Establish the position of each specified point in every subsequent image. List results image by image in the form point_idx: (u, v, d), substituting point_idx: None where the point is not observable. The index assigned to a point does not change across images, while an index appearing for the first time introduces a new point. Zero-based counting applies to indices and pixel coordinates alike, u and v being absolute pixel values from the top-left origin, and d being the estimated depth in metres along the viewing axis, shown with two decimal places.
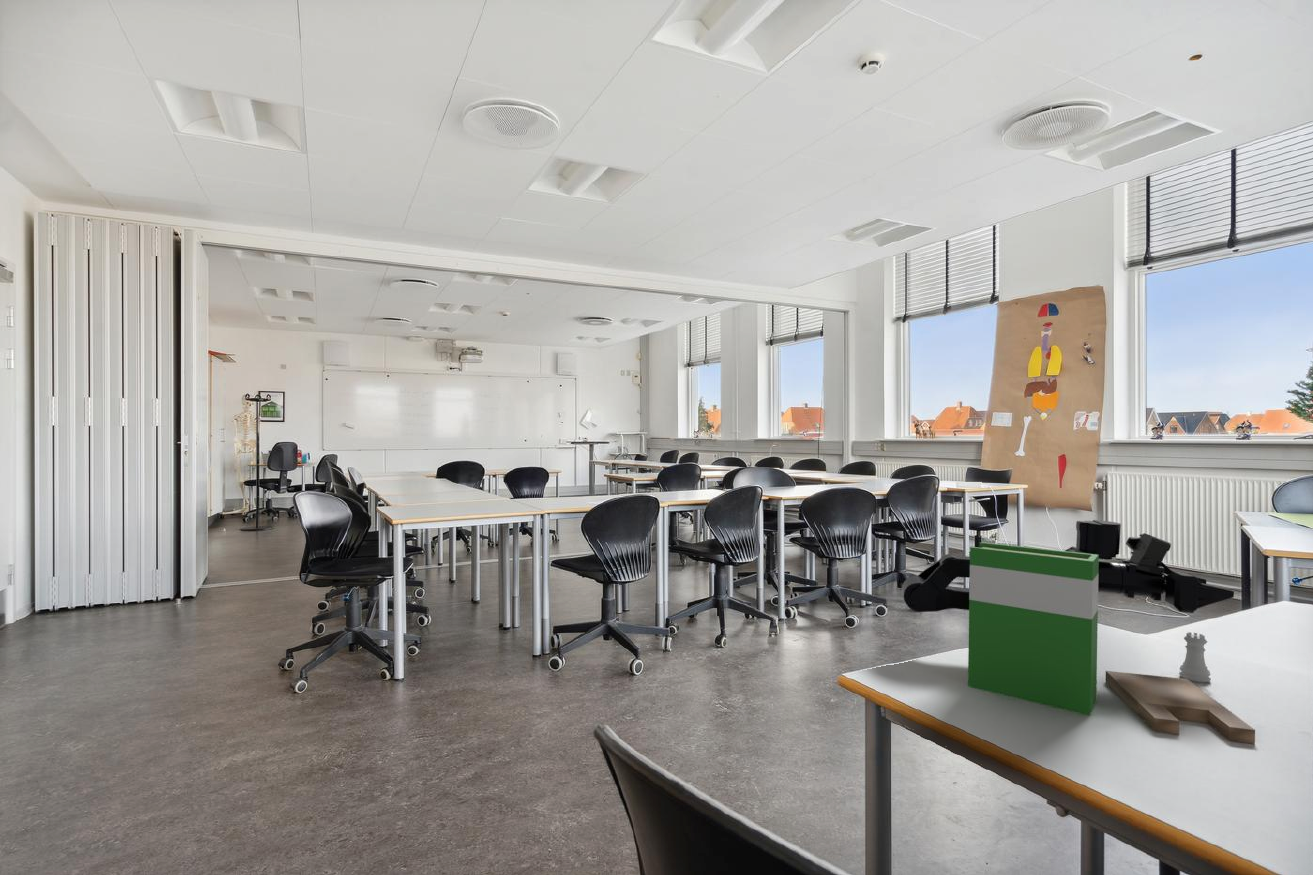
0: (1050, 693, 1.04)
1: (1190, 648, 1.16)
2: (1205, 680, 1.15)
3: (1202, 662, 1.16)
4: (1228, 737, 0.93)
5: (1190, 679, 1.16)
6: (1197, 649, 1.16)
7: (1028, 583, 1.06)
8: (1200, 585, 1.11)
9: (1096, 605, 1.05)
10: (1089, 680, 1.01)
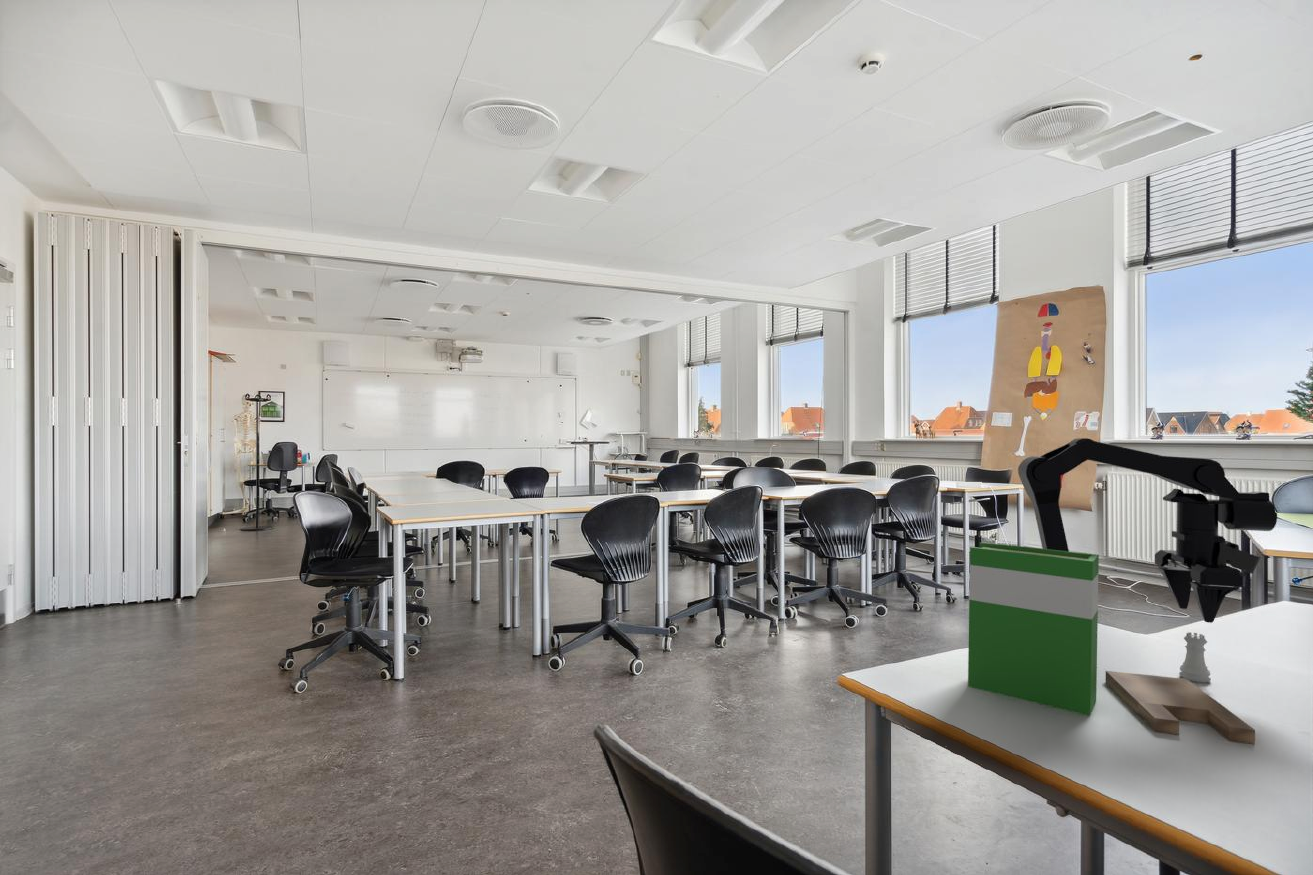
0: (1050, 693, 1.04)
1: (1190, 648, 1.16)
2: (1205, 680, 1.15)
3: (1202, 662, 1.16)
4: (1228, 737, 0.93)
5: (1190, 679, 1.16)
6: (1197, 649, 1.16)
7: (1028, 584, 1.06)
8: (1224, 593, 1.10)
9: (1096, 605, 1.05)
10: (1089, 680, 1.01)
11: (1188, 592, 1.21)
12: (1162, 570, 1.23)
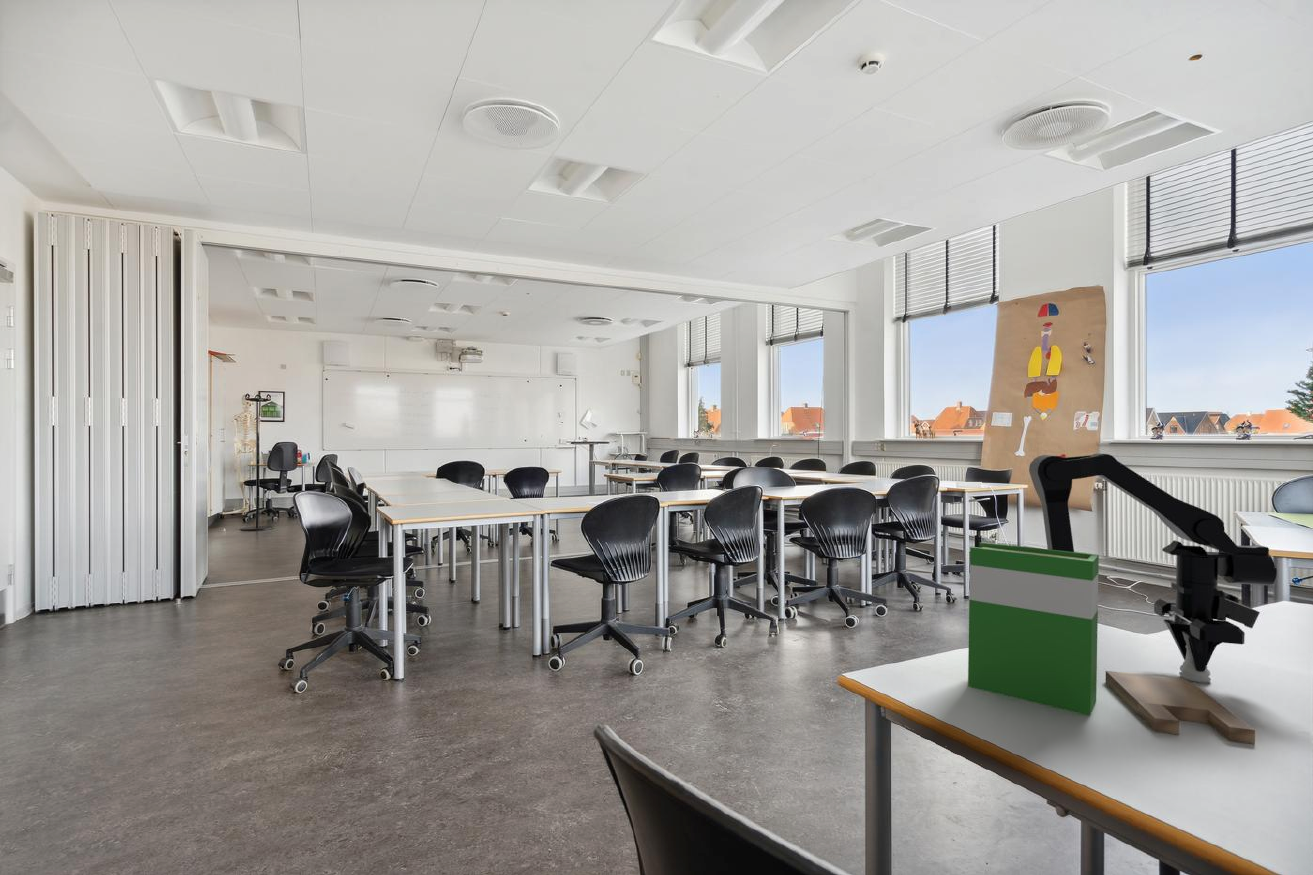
0: (1050, 693, 1.04)
1: None
2: (1205, 680, 1.15)
3: None
4: (1228, 737, 0.93)
5: (1190, 679, 1.16)
6: None
7: (1028, 583, 1.06)
8: (1215, 644, 1.13)
9: (1096, 605, 1.05)
10: (1089, 680, 1.01)
11: None
12: (1168, 624, 1.21)
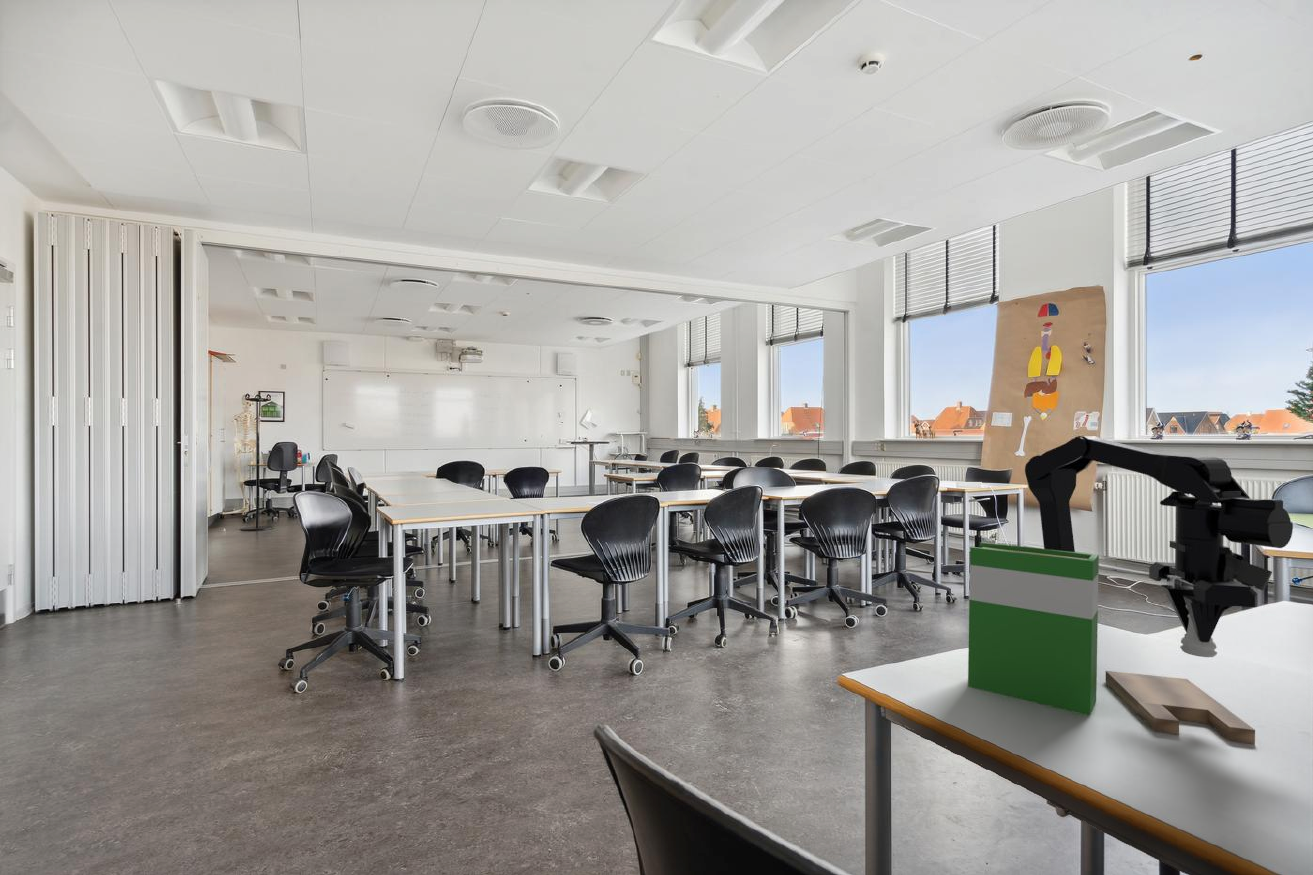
0: (1050, 693, 1.04)
1: None
2: (1211, 654, 0.99)
3: None
4: (1228, 737, 0.93)
5: (1193, 653, 1.00)
6: None
7: (1028, 583, 1.06)
8: (1221, 609, 0.97)
9: (1096, 605, 1.05)
10: (1089, 680, 1.01)
11: None
12: (1166, 589, 1.05)
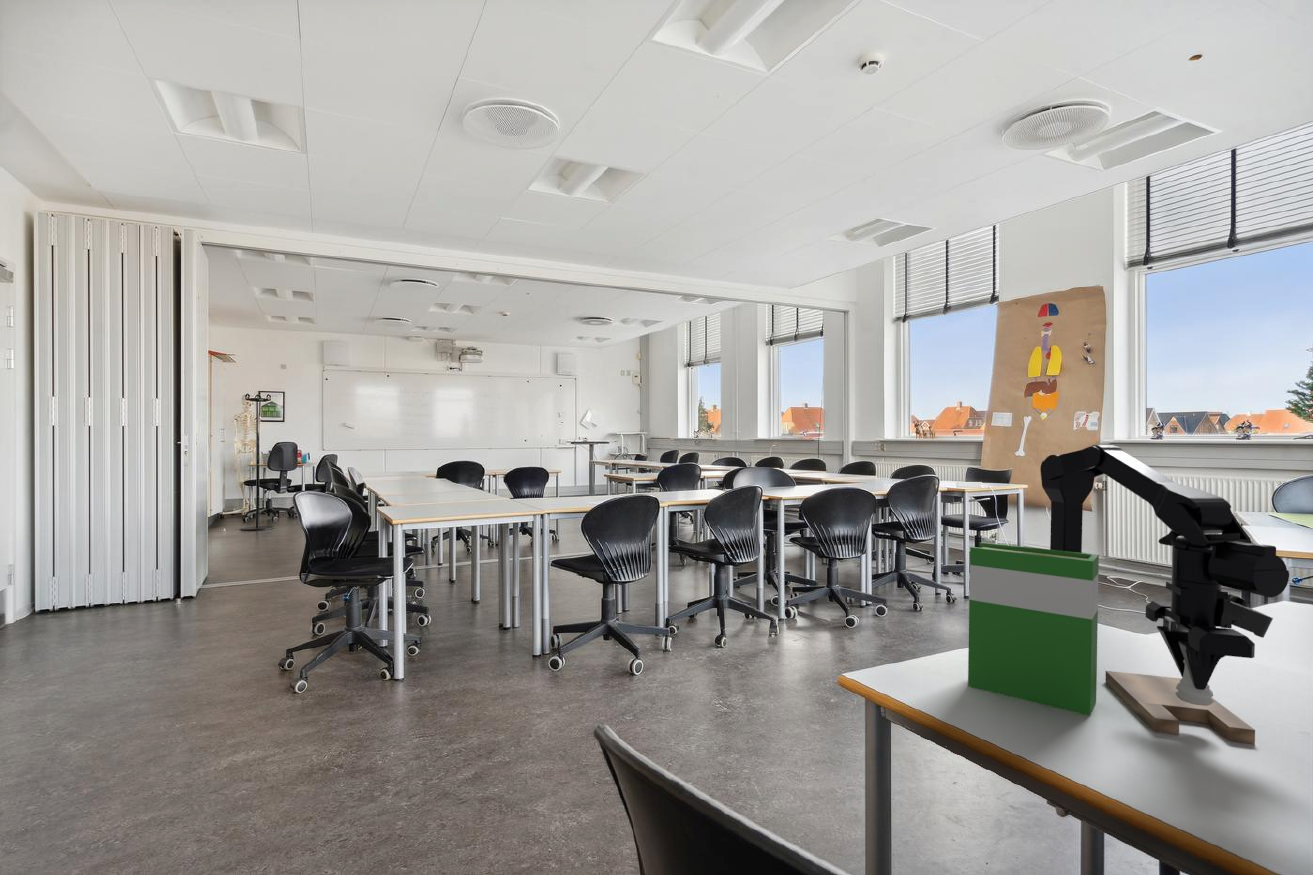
0: (1050, 693, 1.04)
1: None
2: (1207, 702, 0.95)
3: None
4: (1228, 737, 0.93)
5: (1189, 701, 0.96)
6: None
7: (1028, 583, 1.06)
8: (1218, 656, 0.93)
9: (1096, 605, 1.05)
10: (1089, 680, 1.01)
11: None
12: (1162, 631, 1.01)
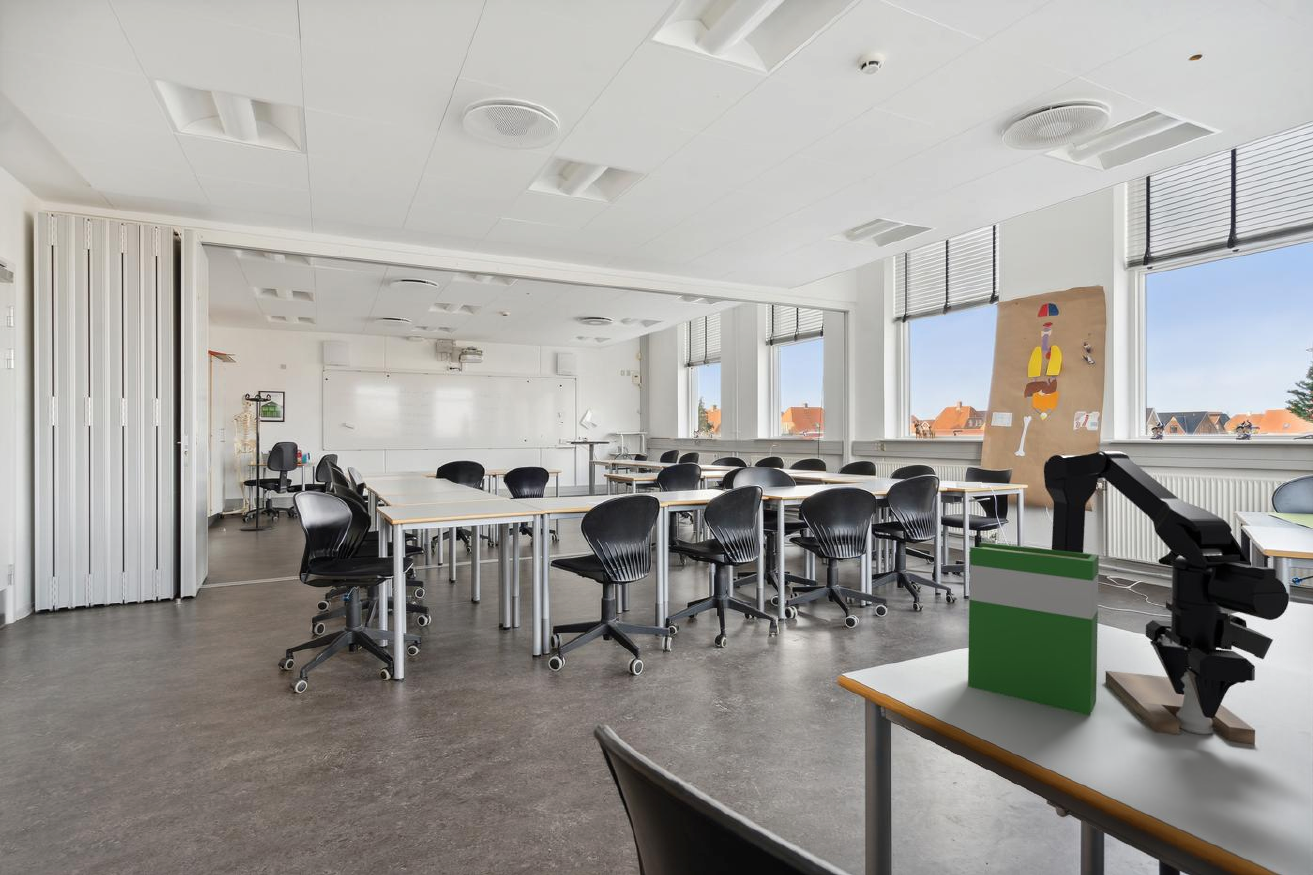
0: (1050, 693, 1.04)
1: (1188, 692, 0.97)
2: (1207, 731, 0.95)
3: None
4: (1228, 737, 0.93)
5: (1189, 729, 0.96)
6: None
7: (1028, 583, 1.06)
8: (1227, 684, 0.91)
9: (1096, 605, 1.05)
10: (1089, 680, 1.01)
11: None
12: (1155, 646, 1.03)
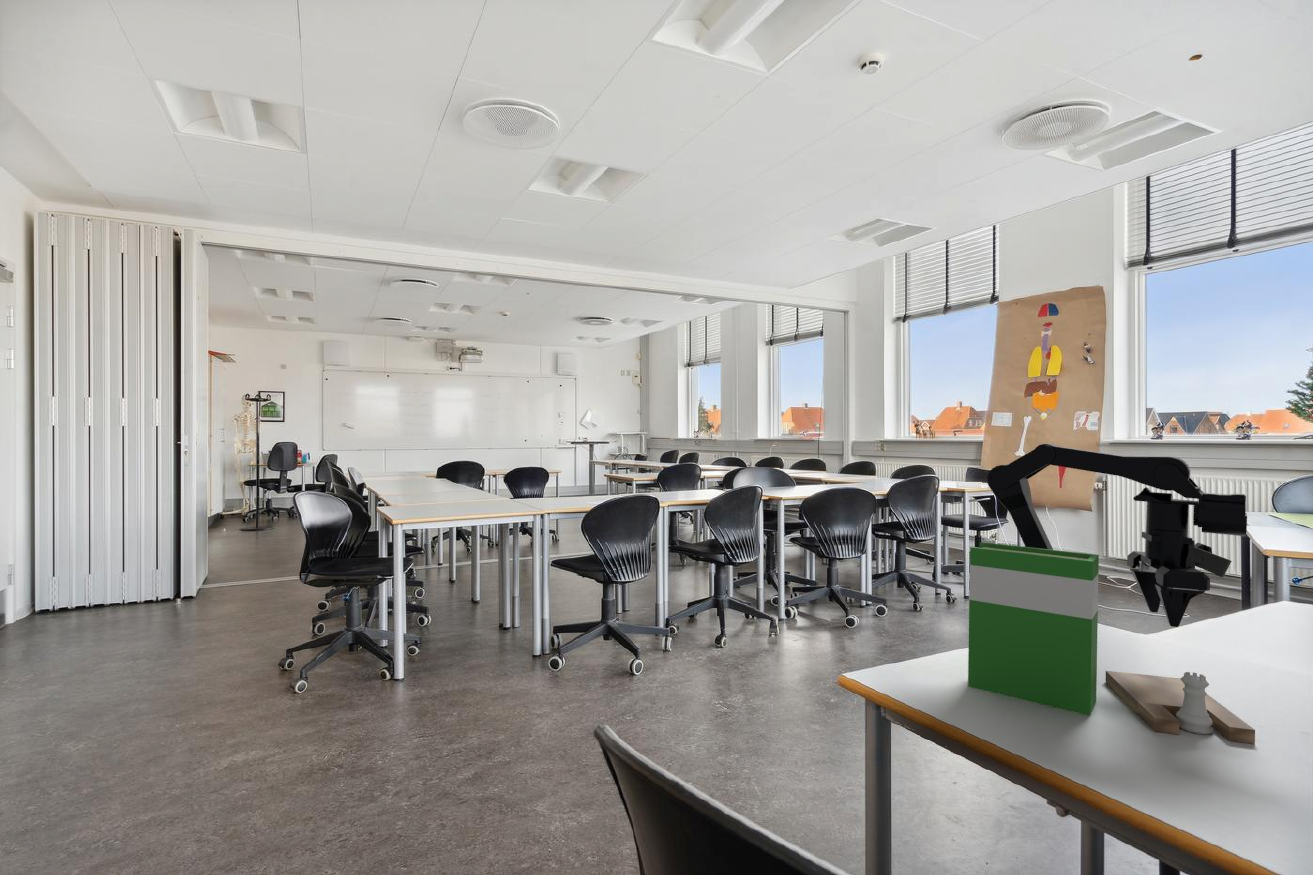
0: (1050, 693, 1.04)
1: (1188, 692, 0.97)
2: (1207, 731, 0.95)
3: (1203, 709, 0.96)
4: (1228, 737, 0.93)
5: (1189, 729, 0.96)
6: (1197, 693, 0.96)
7: (1028, 583, 1.06)
8: (1189, 596, 1.06)
9: (1096, 605, 1.05)
10: (1089, 680, 1.01)
11: None
12: (1133, 572, 1.19)
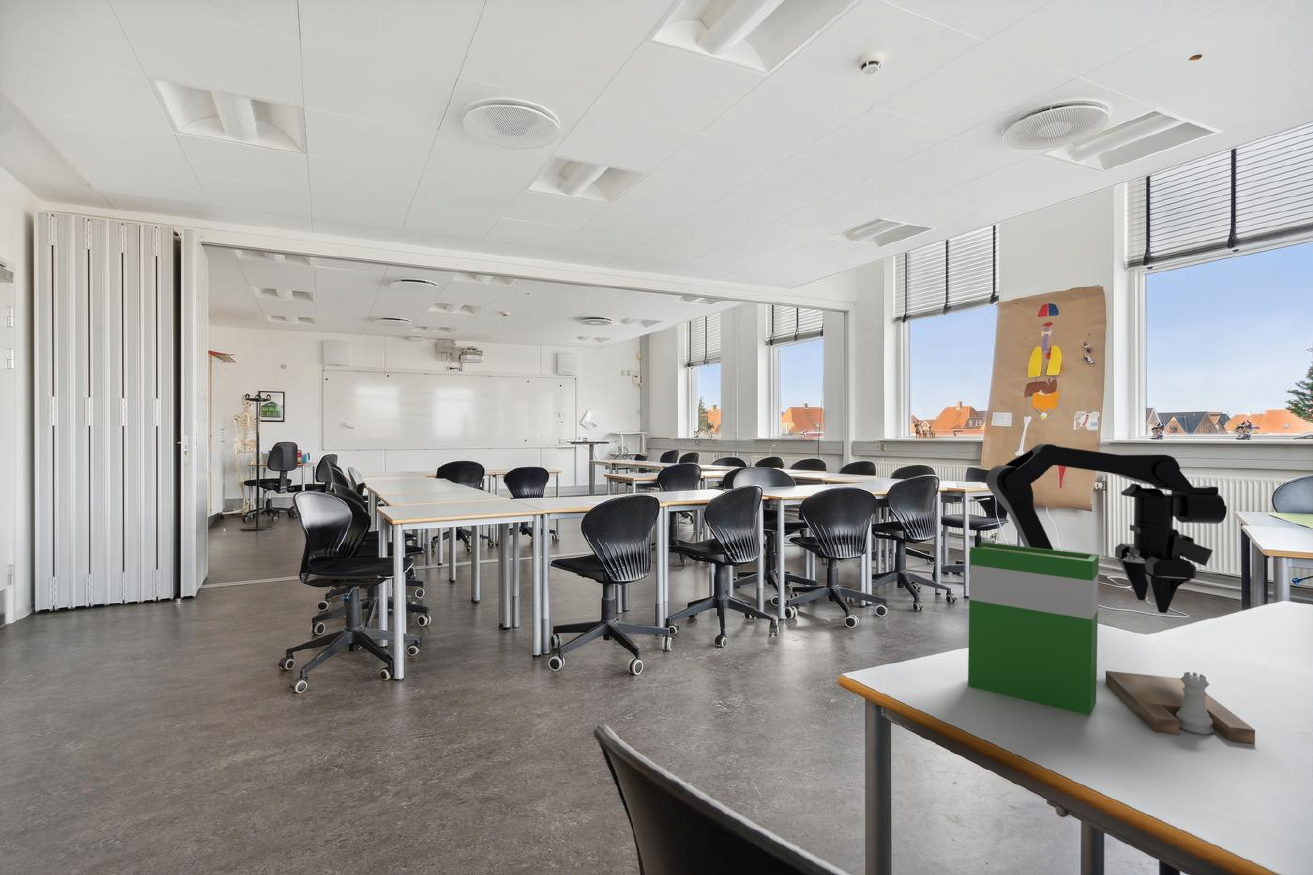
0: (1050, 693, 1.04)
1: (1188, 692, 0.97)
2: (1207, 731, 0.95)
3: (1203, 709, 0.96)
4: (1228, 737, 0.93)
5: (1189, 729, 0.96)
6: (1197, 693, 0.96)
7: (1028, 584, 1.06)
8: (1176, 584, 1.14)
9: (1096, 605, 1.05)
10: (1089, 680, 1.01)
11: (1146, 584, 1.25)
12: (1121, 563, 1.27)
